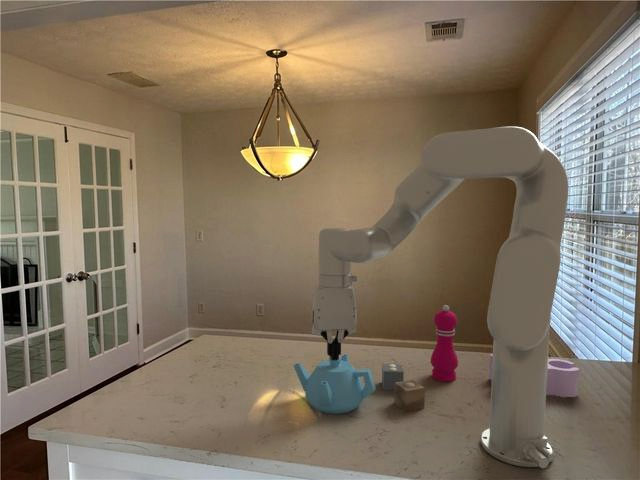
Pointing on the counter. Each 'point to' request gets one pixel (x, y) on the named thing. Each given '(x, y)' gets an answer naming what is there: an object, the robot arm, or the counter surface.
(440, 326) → the pepper mill
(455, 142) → the robot arm
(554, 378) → the clip
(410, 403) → the walnut block
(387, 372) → the charcoal block
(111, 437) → the counter surface
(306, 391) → the teapot
